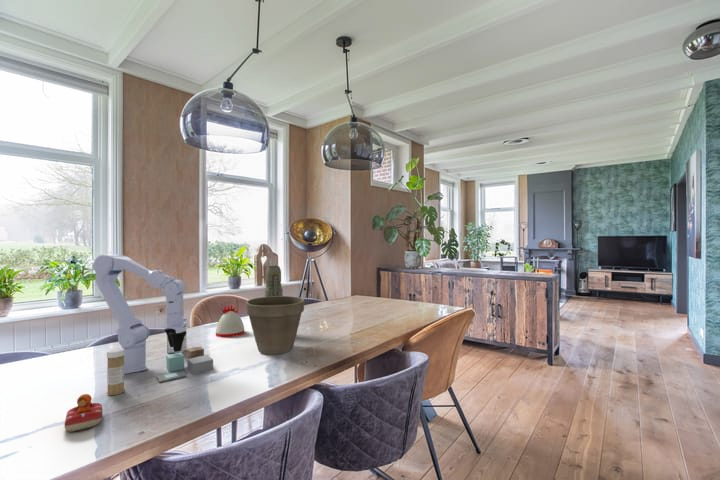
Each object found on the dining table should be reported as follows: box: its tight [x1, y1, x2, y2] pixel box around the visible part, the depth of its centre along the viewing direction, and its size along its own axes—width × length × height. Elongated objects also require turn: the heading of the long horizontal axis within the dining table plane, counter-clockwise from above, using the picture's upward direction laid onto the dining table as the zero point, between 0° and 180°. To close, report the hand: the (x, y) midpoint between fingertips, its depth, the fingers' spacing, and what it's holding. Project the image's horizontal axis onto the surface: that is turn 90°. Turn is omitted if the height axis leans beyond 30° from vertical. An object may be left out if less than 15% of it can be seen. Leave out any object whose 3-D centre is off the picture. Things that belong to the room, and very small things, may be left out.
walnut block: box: [186, 346, 205, 359], centre depth 139 cm, size 5×5×5 cm
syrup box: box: [166, 316, 188, 354], centre depth 153 cm, size 6×6×14 cm
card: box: [156, 370, 187, 384], centre depth 122 cm, size 8×6×1 cm
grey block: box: [186, 354, 214, 375], centre depth 130 cm, size 7×7×4 cm
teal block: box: [165, 352, 185, 373], centre depth 131 cm, size 5×5×5 cm
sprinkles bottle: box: [106, 347, 125, 396], centre depth 110 cm, size 5×5×14 cm
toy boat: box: [64, 393, 103, 433], centre depth 91 cm, size 8×12×8 cm, turn 36°
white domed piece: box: [215, 304, 245, 338], centre depth 182 cm, size 14×14×15 cm
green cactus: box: [264, 265, 284, 297], centre depth 178 cm, size 9×12×35 cm
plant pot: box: [245, 295, 305, 356], centre depth 153 cm, size 25×25×22 cm
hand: (175, 348), depth 131 cm, fingers open, 7 cm apart
